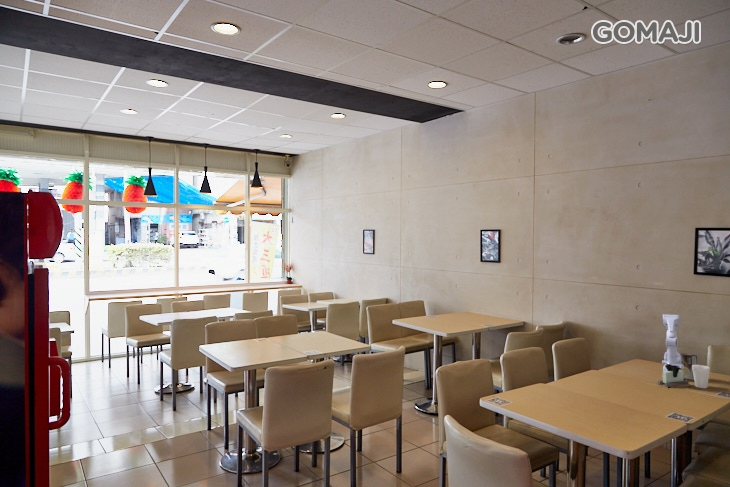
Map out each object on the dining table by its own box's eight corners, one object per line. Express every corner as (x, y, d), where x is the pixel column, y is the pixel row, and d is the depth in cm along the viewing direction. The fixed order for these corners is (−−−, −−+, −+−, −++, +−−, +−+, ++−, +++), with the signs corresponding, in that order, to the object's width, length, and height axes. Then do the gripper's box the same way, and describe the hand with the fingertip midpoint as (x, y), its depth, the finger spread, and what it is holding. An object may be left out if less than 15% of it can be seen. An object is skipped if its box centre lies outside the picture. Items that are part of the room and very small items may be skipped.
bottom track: (656, 384, 310) (656, 380, 310) (678, 381, 314) (678, 378, 314) (668, 388, 301) (668, 384, 301) (690, 385, 305) (690, 381, 305)
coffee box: (698, 378, 320) (697, 355, 320) (693, 380, 317) (692, 356, 318) (684, 375, 328) (683, 352, 329) (679, 376, 326) (678, 354, 326)
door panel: (663, 382, 307) (662, 371, 307) (680, 380, 310) (679, 370, 310) (666, 383, 305) (665, 372, 305) (683, 381, 308) (683, 371, 308)
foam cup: (710, 389, 295) (709, 369, 296) (692, 387, 301) (691, 367, 301) (710, 385, 303) (709, 365, 303) (693, 383, 309) (692, 364, 309)
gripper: (658, 354, 314) (658, 374, 314) (677, 358, 300) (677, 380, 299) (666, 353, 316) (667, 373, 315) (685, 358, 301) (686, 379, 301)
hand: (673, 376), depth 307 cm, fingers closed on door panel, 2 cm apart
